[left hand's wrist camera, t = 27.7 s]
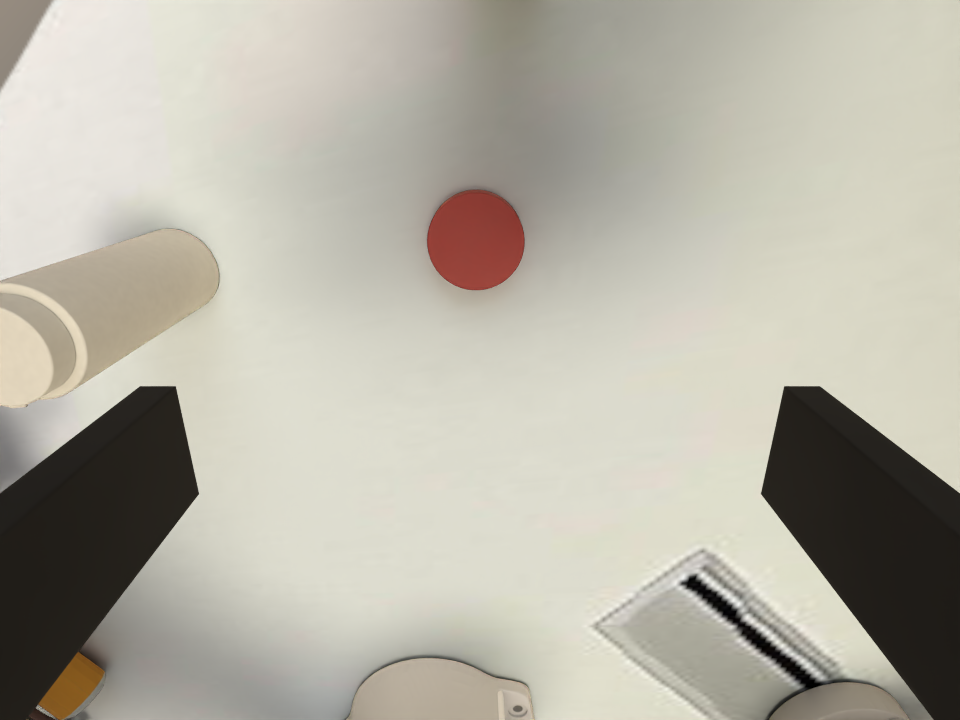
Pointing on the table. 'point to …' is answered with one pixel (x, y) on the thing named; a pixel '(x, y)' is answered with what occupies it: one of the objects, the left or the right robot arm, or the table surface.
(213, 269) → the jar
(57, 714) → the spray gun
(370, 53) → the table surface
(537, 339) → the table surface
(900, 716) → the bust sculpture
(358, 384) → the table surface
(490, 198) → the lid
